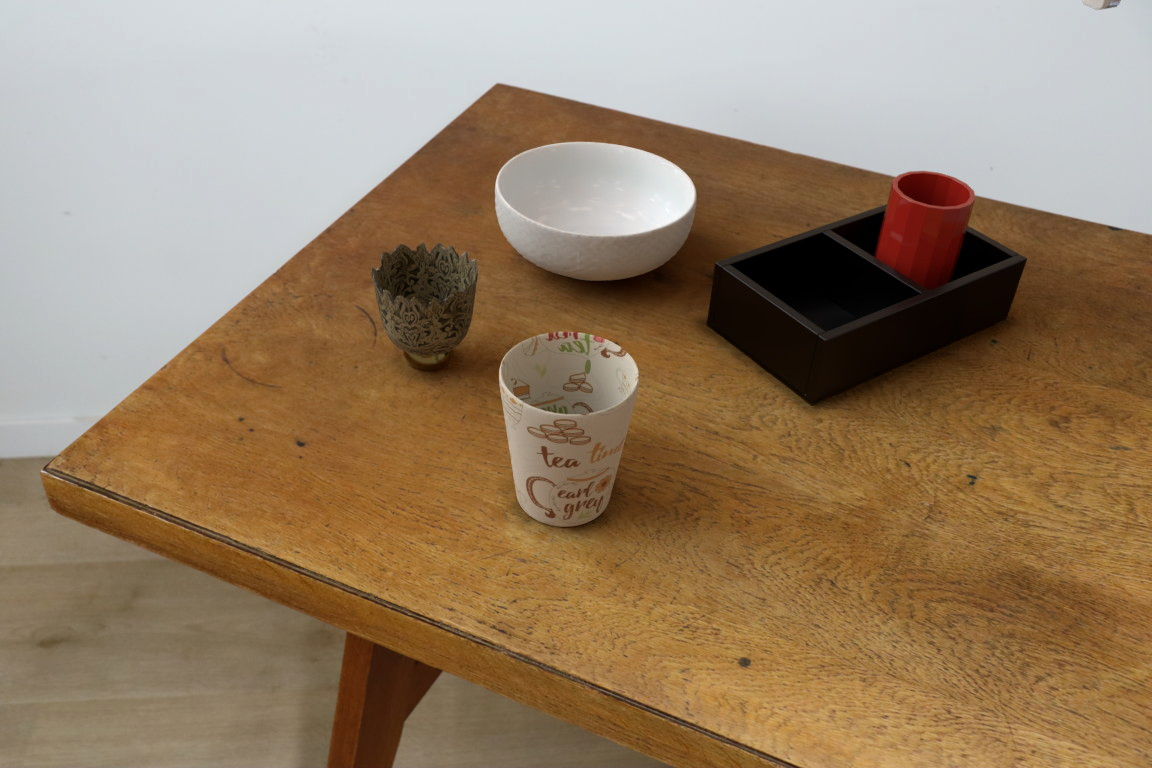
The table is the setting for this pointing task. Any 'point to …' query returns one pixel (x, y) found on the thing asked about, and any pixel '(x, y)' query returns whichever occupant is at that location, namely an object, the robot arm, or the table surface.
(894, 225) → the cup
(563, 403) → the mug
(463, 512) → the table surface
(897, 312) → the caddy
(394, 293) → the cup
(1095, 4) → the robot arm
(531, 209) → the cereal bowl
